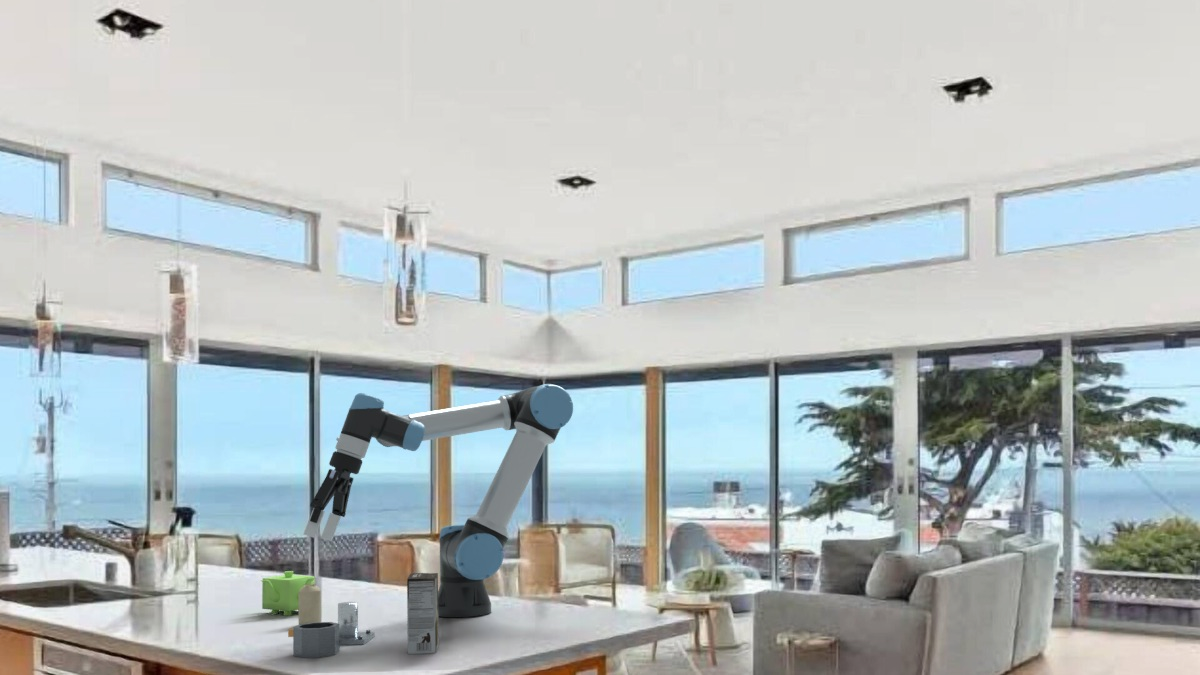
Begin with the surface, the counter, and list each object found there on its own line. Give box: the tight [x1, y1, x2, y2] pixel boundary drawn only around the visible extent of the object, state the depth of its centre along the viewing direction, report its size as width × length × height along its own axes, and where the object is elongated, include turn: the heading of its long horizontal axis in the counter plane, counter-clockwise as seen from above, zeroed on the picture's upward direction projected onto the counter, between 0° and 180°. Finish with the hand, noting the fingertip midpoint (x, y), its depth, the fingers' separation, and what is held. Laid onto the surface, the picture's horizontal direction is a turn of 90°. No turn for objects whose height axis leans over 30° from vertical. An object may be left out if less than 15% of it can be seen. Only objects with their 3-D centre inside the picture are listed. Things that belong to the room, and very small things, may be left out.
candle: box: [298, 584, 322, 625], centre depth 275 cm, size 6×6×10 cm
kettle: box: [260, 570, 316, 617], centre depth 296 cm, size 15×14×11 cm
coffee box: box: [406, 572, 440, 655], centre depth 238 cm, size 9×6×16 cm
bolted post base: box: [337, 601, 375, 646], centre depth 251 cm, size 10×10×8 cm
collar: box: [287, 621, 340, 659], centre depth 236 cm, size 10×9×6 cm
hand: (317, 538), depth 262 cm, fingers open, 13 cm apart
